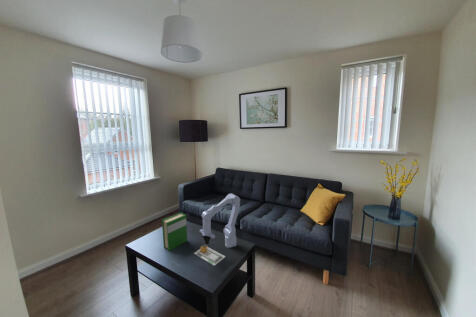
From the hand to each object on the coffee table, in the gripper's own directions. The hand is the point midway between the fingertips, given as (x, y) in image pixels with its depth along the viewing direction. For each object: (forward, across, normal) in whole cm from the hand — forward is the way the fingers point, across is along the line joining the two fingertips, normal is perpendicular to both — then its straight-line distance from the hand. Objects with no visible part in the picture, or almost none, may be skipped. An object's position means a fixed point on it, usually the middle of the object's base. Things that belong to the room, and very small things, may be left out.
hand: (207, 243), depth 144 cm
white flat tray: (+10, +2, 0) cm, 10 cm away
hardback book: (+10, -32, -6) cm, 34 cm away
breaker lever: (+8, -4, 0) cm, 9 cm away
